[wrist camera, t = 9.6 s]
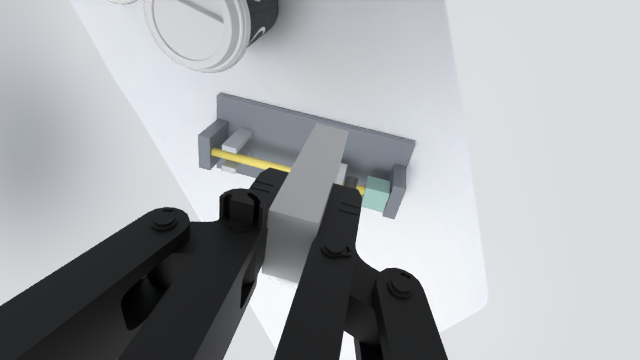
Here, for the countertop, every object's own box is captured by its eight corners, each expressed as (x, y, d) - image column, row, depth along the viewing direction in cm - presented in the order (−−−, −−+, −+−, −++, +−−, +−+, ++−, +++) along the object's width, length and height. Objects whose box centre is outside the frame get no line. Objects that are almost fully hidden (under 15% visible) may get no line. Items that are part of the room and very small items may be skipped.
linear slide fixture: (220, 163, 54) (196, 189, 48) (220, 92, 47) (193, 111, 41) (389, 208, 52) (388, 240, 46) (414, 140, 45) (417, 167, 39)
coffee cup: (306, 7, 39) (264, 24, 27) (257, 63, 44) (201, 99, 32) (246, -64, 37) (168, -81, 24) (201, 4, 42) (116, 18, 29)
